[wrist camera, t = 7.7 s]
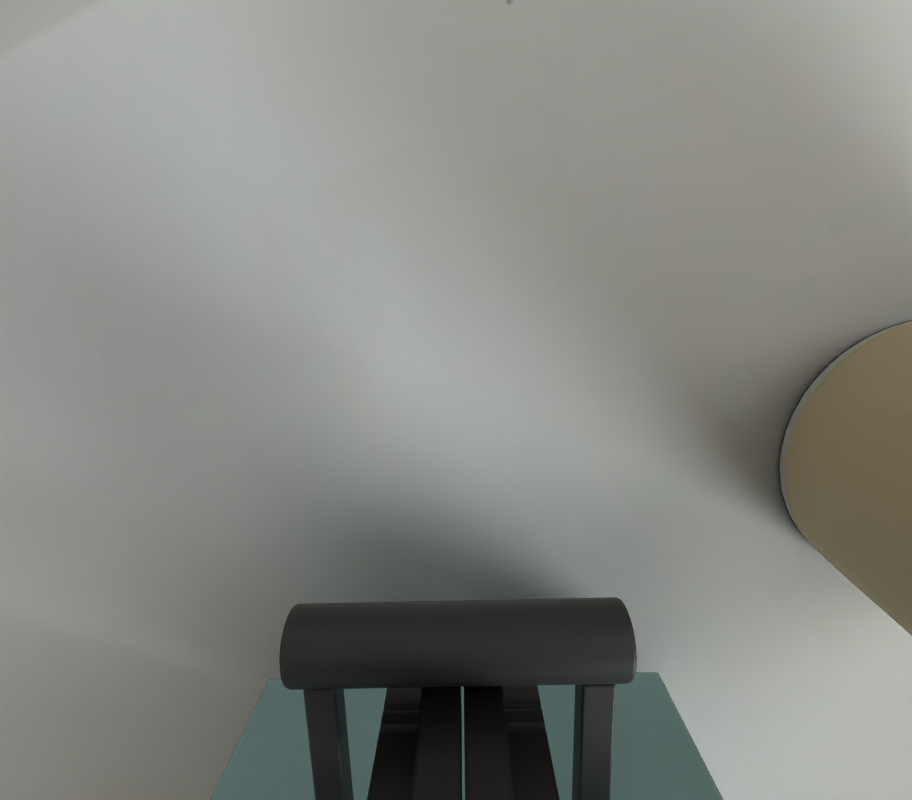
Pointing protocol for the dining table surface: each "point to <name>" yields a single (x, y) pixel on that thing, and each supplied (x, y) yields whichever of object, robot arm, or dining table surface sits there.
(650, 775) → the drawer
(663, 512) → the dining table surface
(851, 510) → the cream canister
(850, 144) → the dining table surface
